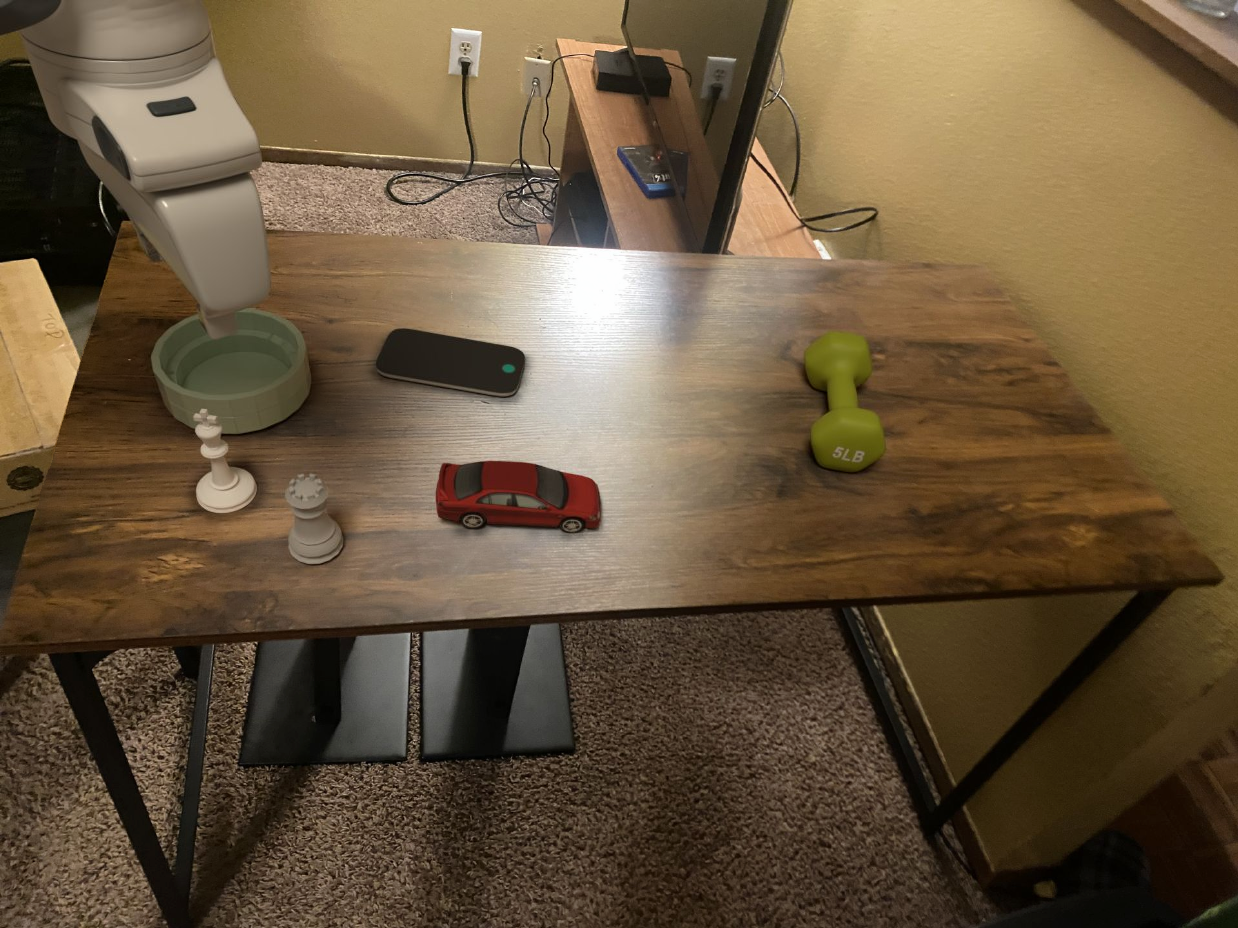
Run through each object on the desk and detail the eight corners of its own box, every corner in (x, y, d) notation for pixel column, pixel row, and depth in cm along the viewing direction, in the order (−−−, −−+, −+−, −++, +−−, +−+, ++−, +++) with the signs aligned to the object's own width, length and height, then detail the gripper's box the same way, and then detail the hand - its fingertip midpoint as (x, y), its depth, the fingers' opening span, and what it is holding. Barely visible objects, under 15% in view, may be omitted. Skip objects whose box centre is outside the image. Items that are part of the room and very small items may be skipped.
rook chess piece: (286, 530, 72) (272, 469, 66) (340, 521, 74) (331, 460, 68) (292, 572, 70) (277, 511, 64) (347, 561, 71) (338, 501, 65)
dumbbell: (873, 483, 87) (900, 435, 82) (799, 469, 87) (821, 420, 82) (859, 382, 98) (883, 333, 93) (794, 369, 98) (813, 320, 93)
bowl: (173, 451, 76) (159, 412, 73) (157, 358, 84) (144, 318, 80) (324, 422, 81) (318, 384, 78) (297, 337, 89) (290, 299, 85)
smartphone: (515, 394, 87) (371, 369, 86) (515, 400, 87) (372, 375, 87) (527, 348, 92) (391, 324, 91) (527, 354, 92) (392, 331, 92)
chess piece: (246, 516, 73) (224, 436, 65) (187, 509, 72) (158, 428, 65) (264, 474, 76) (245, 394, 69) (208, 468, 76) (183, 386, 68)
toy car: (440, 481, 79) (440, 445, 75) (599, 496, 80) (606, 461, 77) (432, 527, 75) (431, 491, 71) (598, 542, 76) (606, 507, 73)
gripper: (5, 15, 48) (80, 226, 58) (145, 181, 39) (206, 397, 49) (121, 3, 51) (174, 205, 61) (275, 154, 42) (307, 361, 52)
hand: (189, 291), depth 55 cm, fingers open, 8 cm apart
